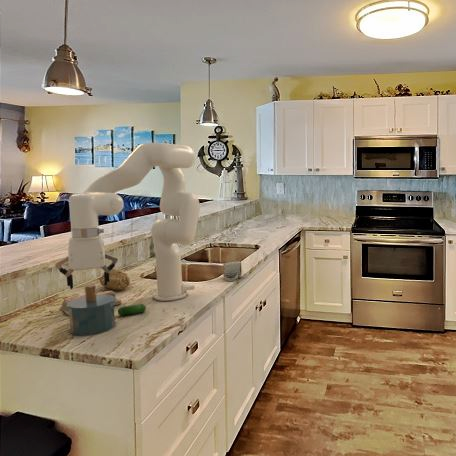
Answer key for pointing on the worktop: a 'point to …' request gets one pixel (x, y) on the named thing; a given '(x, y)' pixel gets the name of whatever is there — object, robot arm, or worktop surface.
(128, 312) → the cucumber
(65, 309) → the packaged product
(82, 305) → the crock lid
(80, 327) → the crock
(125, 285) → the brown rounded lump
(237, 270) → the ceramic mug
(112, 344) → the worktop surface
